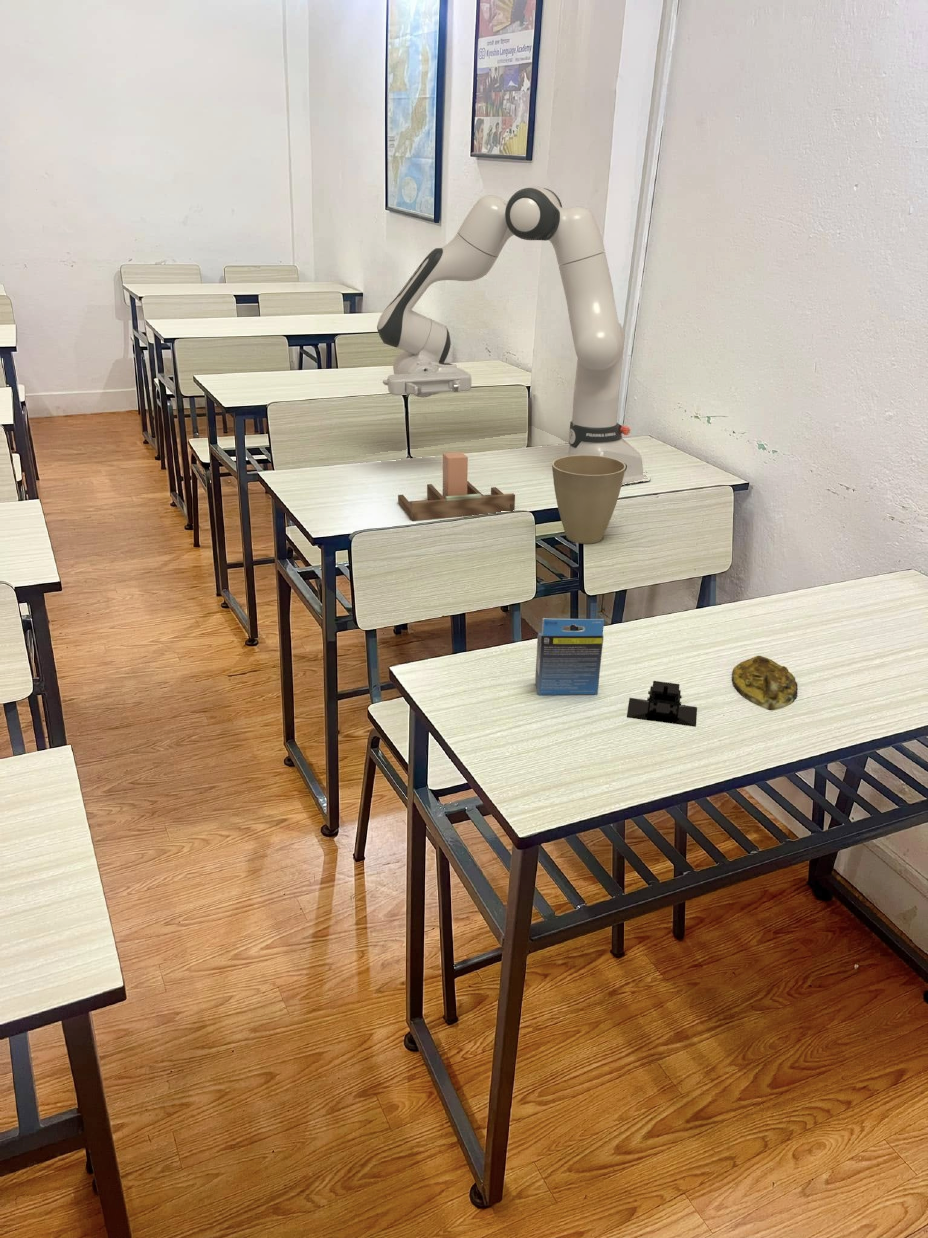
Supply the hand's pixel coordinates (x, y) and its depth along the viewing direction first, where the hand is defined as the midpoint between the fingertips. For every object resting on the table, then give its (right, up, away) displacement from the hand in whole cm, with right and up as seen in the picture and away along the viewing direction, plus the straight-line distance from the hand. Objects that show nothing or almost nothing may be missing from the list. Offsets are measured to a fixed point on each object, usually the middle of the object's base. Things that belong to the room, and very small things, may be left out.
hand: (438, 389), depth 209 cm
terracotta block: (+4, -28, -2) cm, 28 cm away
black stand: (+34, -67, -84) cm, 112 cm away
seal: (+51, -64, -76) cm, 111 cm away
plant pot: (+31, -37, -20) cm, 52 cm away
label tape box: (+21, -64, -78) cm, 103 cm away
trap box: (+4, -28, -3) cm, 28 cm away
